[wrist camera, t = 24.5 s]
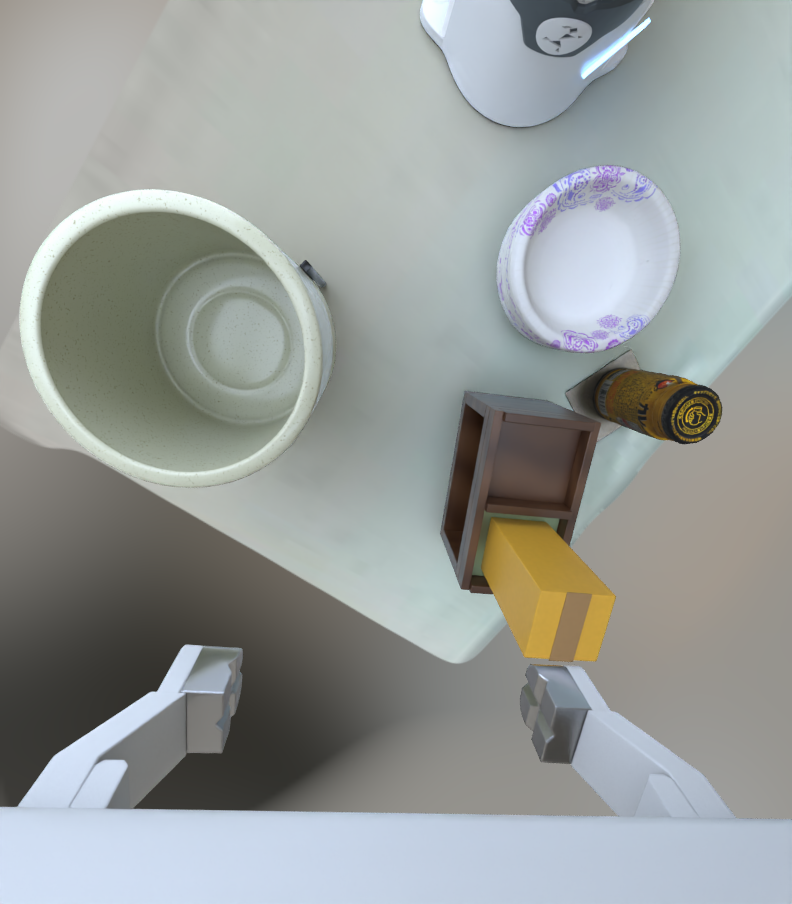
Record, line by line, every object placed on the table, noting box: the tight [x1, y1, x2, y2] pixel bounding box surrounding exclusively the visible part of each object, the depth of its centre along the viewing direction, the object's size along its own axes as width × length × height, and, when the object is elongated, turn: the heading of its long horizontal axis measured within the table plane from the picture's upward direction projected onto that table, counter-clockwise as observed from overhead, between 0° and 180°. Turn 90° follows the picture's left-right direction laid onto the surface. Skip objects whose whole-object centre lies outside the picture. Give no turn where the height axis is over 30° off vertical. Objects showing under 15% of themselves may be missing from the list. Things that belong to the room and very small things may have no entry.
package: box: [481, 517, 616, 662], centre depth 36 cm, size 6×6×12 cm
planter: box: [20, 189, 336, 488], centre depth 34 cm, size 15×16×23 cm
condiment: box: [565, 349, 722, 444], centre depth 44 cm, size 7×8×12 cm
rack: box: [440, 391, 601, 594], centre depth 45 cm, size 17×10×12 cm, turn 173°
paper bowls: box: [496, 165, 680, 353], centre depth 41 cm, size 15×15×8 cm
